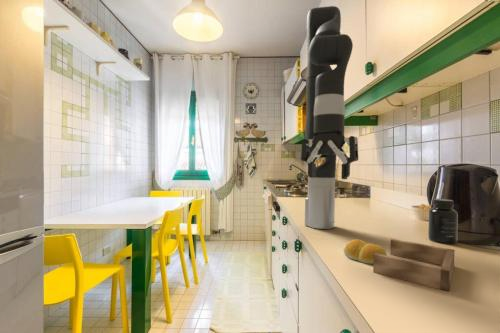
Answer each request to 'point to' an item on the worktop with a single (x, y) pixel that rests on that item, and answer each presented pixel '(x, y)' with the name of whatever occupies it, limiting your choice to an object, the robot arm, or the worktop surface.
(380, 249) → the bread roll
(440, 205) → the supplement bottle
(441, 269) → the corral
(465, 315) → the worktop surface
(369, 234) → the worktop surface
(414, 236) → the worktop surface
